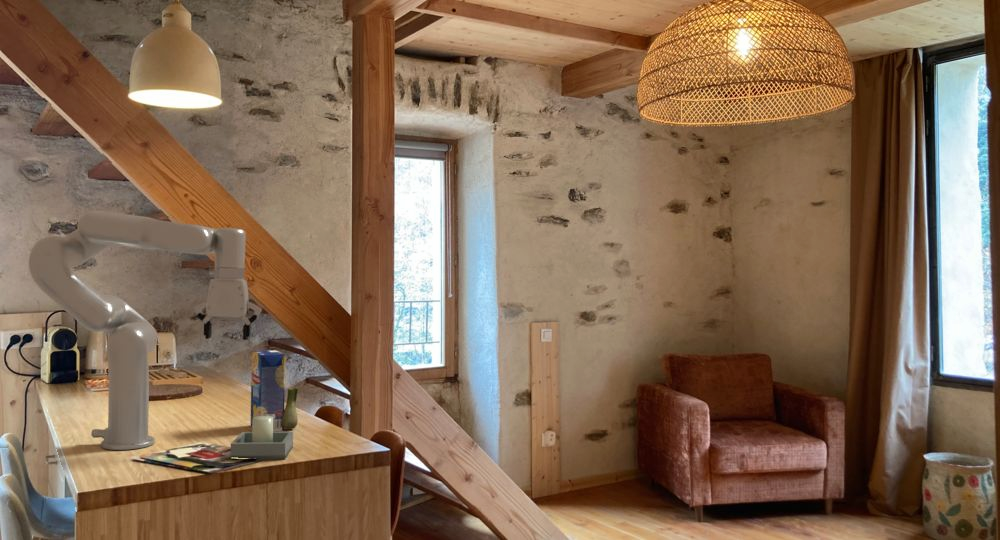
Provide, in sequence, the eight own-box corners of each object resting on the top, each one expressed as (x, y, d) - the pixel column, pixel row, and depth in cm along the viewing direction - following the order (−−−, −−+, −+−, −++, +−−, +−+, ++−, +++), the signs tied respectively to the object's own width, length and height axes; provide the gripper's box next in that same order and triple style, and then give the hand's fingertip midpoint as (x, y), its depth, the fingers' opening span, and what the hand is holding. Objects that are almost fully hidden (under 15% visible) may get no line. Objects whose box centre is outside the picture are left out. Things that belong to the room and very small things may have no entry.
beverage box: (273, 423, 234) (275, 350, 234) (284, 430, 224) (285, 354, 224) (250, 425, 230) (251, 351, 230) (259, 433, 221) (261, 355, 221)
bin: (230, 460, 191) (230, 443, 191) (241, 447, 204) (242, 432, 204) (285, 459, 192) (285, 443, 192) (292, 447, 205) (293, 431, 205)
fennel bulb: (289, 426, 230) (295, 385, 230) (301, 429, 227) (307, 388, 228) (274, 427, 225) (280, 386, 225) (286, 430, 222) (292, 388, 223)
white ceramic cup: (250, 451, 195) (250, 419, 195) (254, 447, 200) (254, 415, 200) (270, 451, 196) (271, 419, 196) (274, 447, 201) (274, 415, 201)
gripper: (191, 273, 203) (189, 339, 203) (259, 276, 205) (257, 341, 205) (199, 273, 211) (197, 336, 211) (265, 275, 212) (263, 338, 212)
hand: (226, 338), depth 208 cm, fingers open, 9 cm apart
